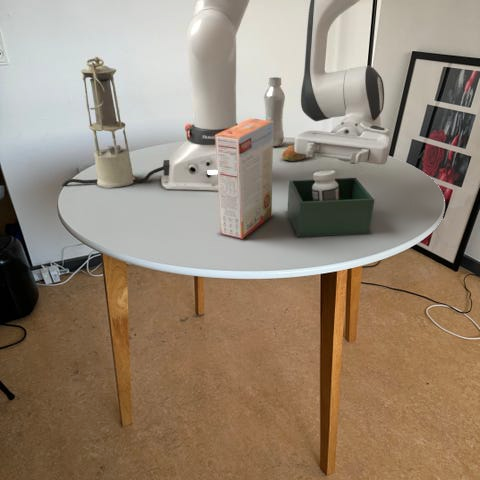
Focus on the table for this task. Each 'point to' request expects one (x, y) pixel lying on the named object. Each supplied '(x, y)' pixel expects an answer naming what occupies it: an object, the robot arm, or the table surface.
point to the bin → (330, 209)
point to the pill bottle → (325, 186)
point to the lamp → (107, 127)
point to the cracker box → (244, 176)
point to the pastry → (292, 154)
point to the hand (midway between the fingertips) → (331, 156)
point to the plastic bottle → (275, 109)
